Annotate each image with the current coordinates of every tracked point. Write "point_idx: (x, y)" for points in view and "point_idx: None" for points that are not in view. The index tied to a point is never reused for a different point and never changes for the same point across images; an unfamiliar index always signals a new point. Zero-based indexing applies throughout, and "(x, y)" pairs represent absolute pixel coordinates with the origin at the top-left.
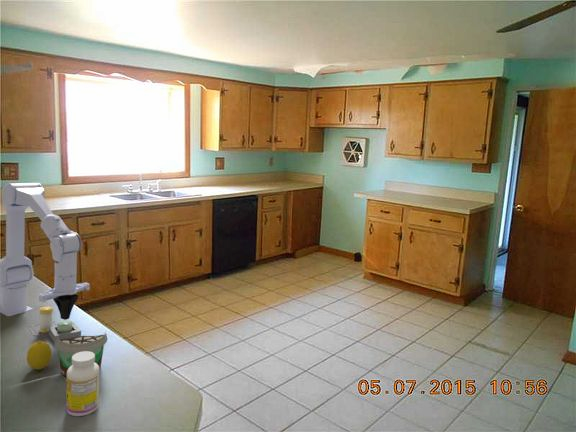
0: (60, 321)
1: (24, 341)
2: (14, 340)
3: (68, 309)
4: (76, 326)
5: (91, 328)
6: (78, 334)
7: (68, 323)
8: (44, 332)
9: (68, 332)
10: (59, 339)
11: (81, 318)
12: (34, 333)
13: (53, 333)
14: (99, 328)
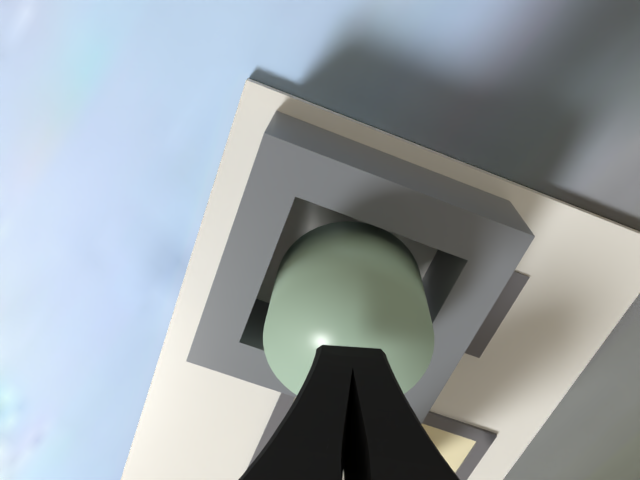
0: None
1: (583, 419)
2: (605, 475)
3: (341, 452)
4: (229, 264)
5: (66, 229)
6: (295, 134)
7: (327, 310)
8: None
9: (385, 205)
10: (480, 200)
11: (35, 434)
12: (462, 462)
13: (495, 298)
14: (4, 172)
